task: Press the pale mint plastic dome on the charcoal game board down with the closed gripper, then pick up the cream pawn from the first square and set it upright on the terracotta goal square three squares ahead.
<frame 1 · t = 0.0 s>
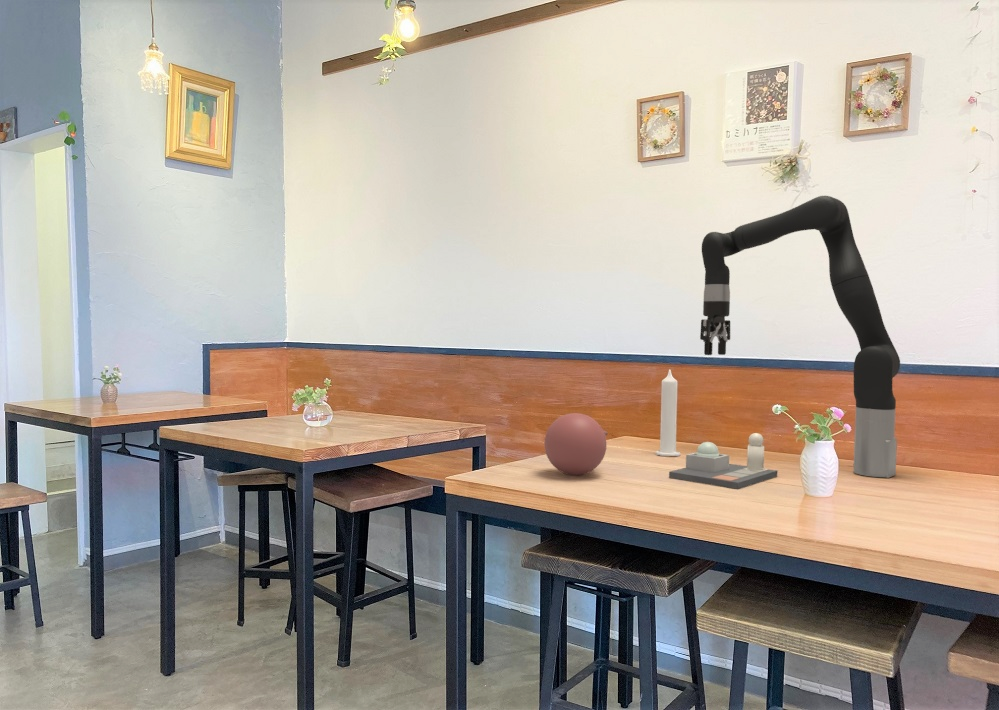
hand: (715, 354, 226), 29 cm above the table, fingers open, 8 cm apart
dome: (707, 452, 192), point 6 cm above the table, slide at 0.0 cm
pawn: (755, 469, 192), point 2 cm above the table, touching game board
mauve rubber ball: (581, 474, 191), on the table
game board: (723, 477, 189), on the table
candle: (667, 455, 221), on the table
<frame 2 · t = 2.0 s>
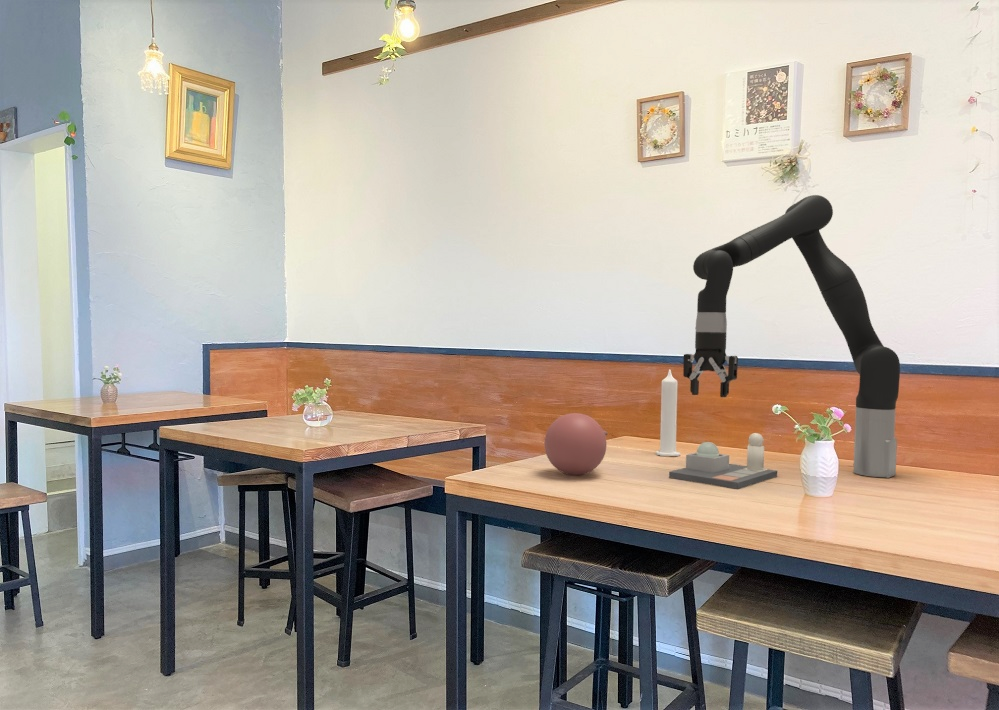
hand: (709, 395, 192), 20 cm above the table, fingers open, 7 cm apart
nothing on the table moved.
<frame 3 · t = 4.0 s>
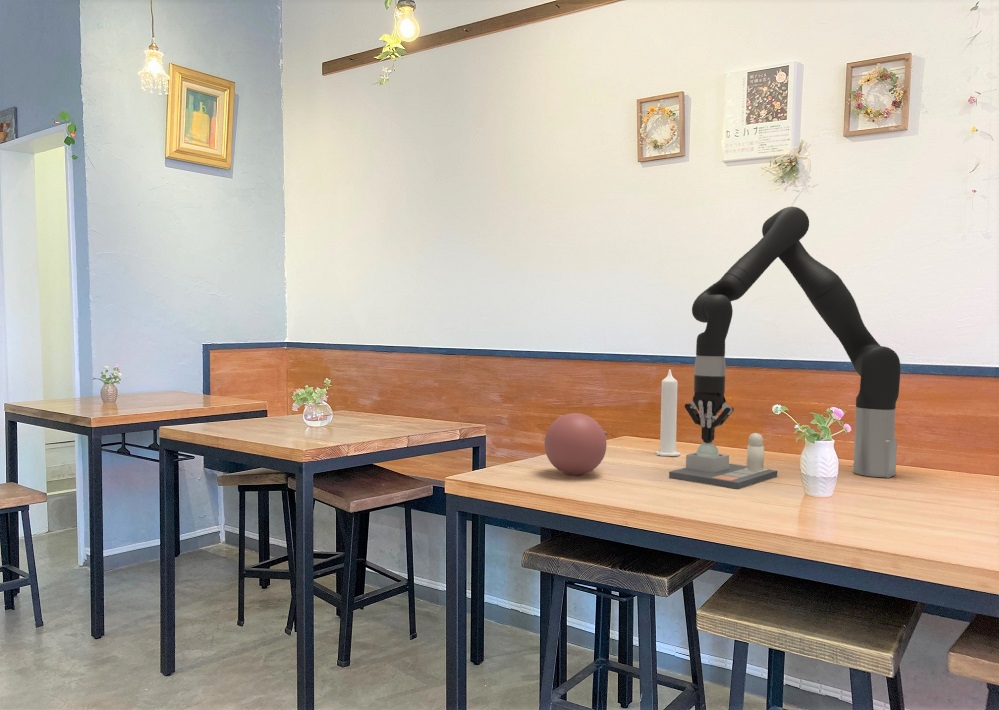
hand: (707, 442, 192), 8 cm above the table, fingers closed
dome: (707, 452, 192), point 6 cm above the table, slide at 0.1 cm, touching gripper
everything else where it was.
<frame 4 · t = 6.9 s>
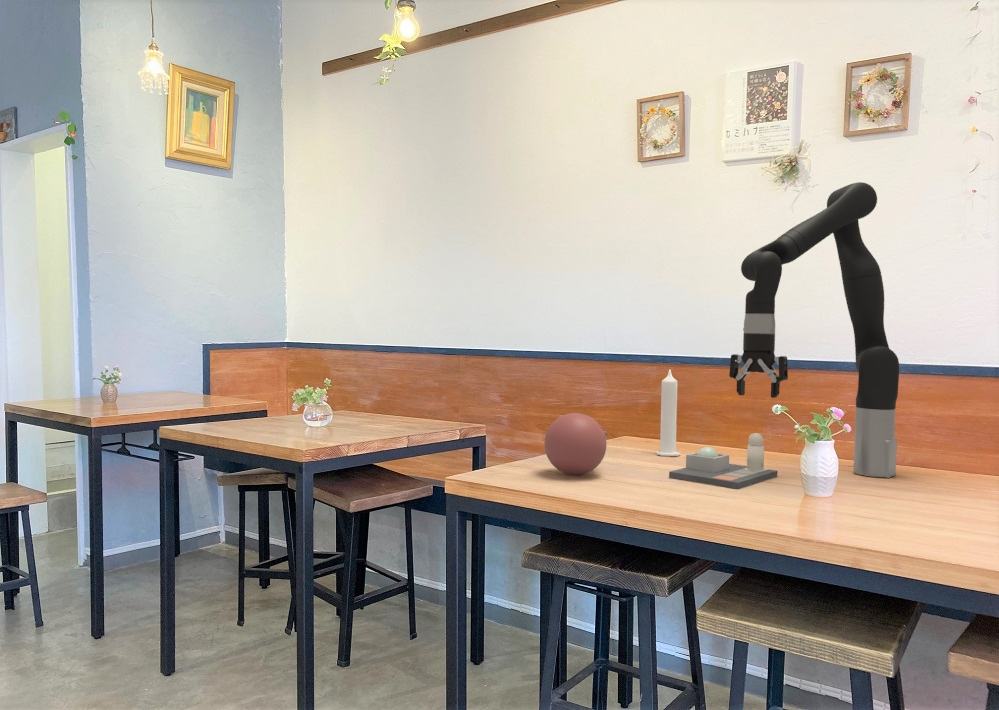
hand: (757, 396, 191), 20 cm above the table, fingers open, 8 cm apart
dome: (707, 457, 192), point 4 cm above the table, slide at 1.3 cm
everything else where it was.
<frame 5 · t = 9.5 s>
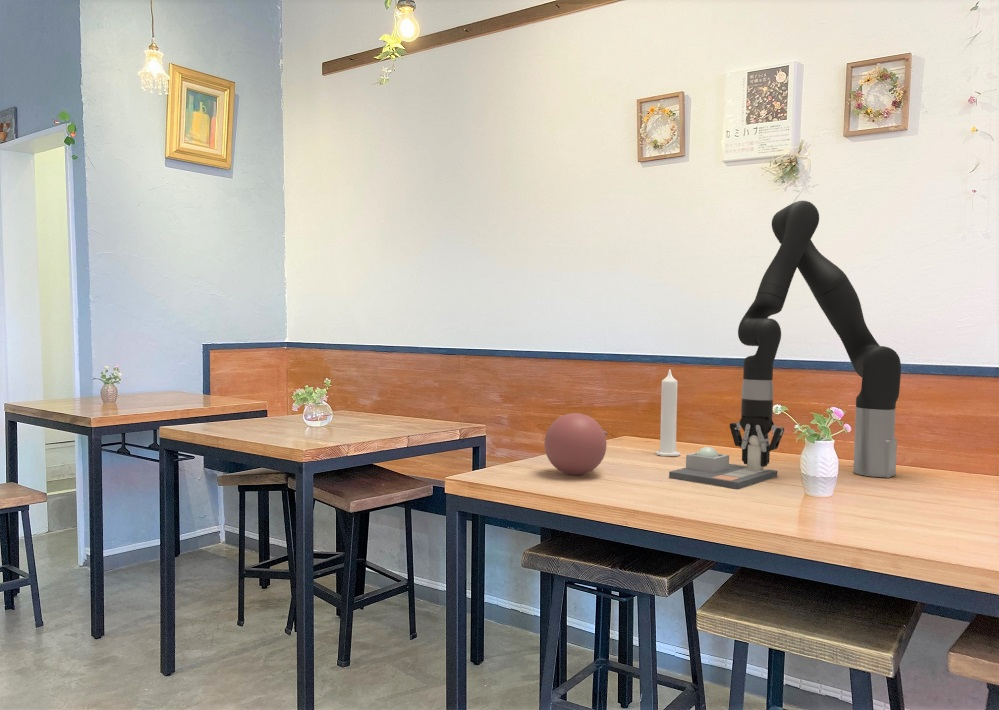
hand: (755, 464, 192), 3 cm above the table, fingers closed on pawn, 4 cm apart
pawn: (755, 469, 192), point 2 cm above the table, touching game board, gripper
everything else where it was.
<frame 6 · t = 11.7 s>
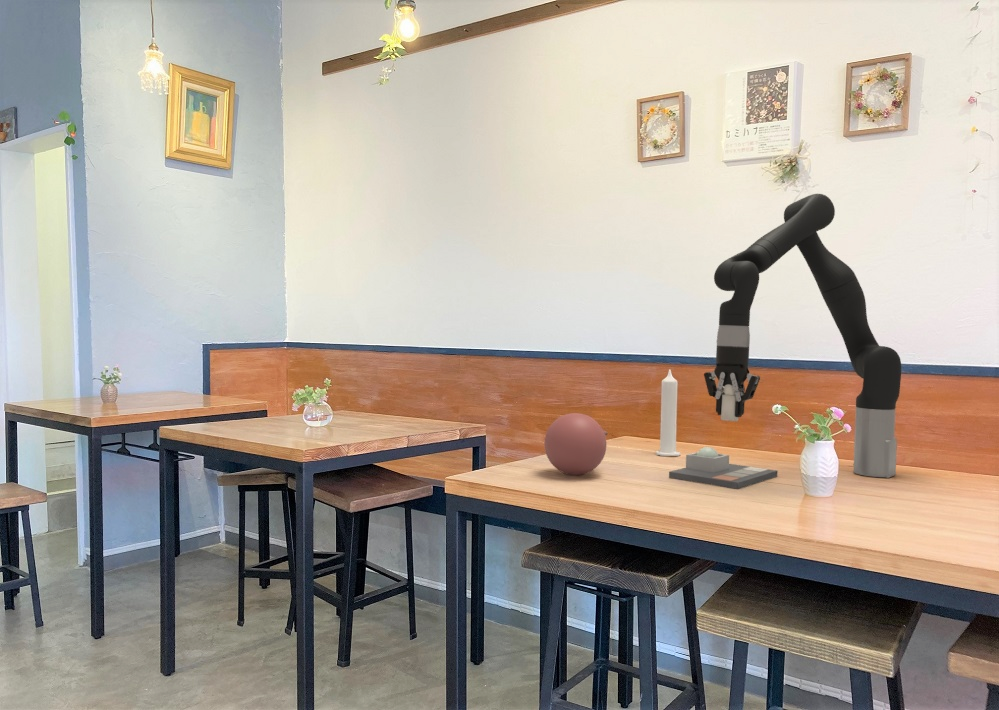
hand: (729, 415, 183), 16 cm above the table, fingers closed on pawn, 4 cm apart
pawn: (729, 420, 183), point 15 cm above the table, touching gripper
everything else where it was.
when the fingers open (4 cm above the table, at t = 14.4 s): pawn drops 1 cm, resting on game board.
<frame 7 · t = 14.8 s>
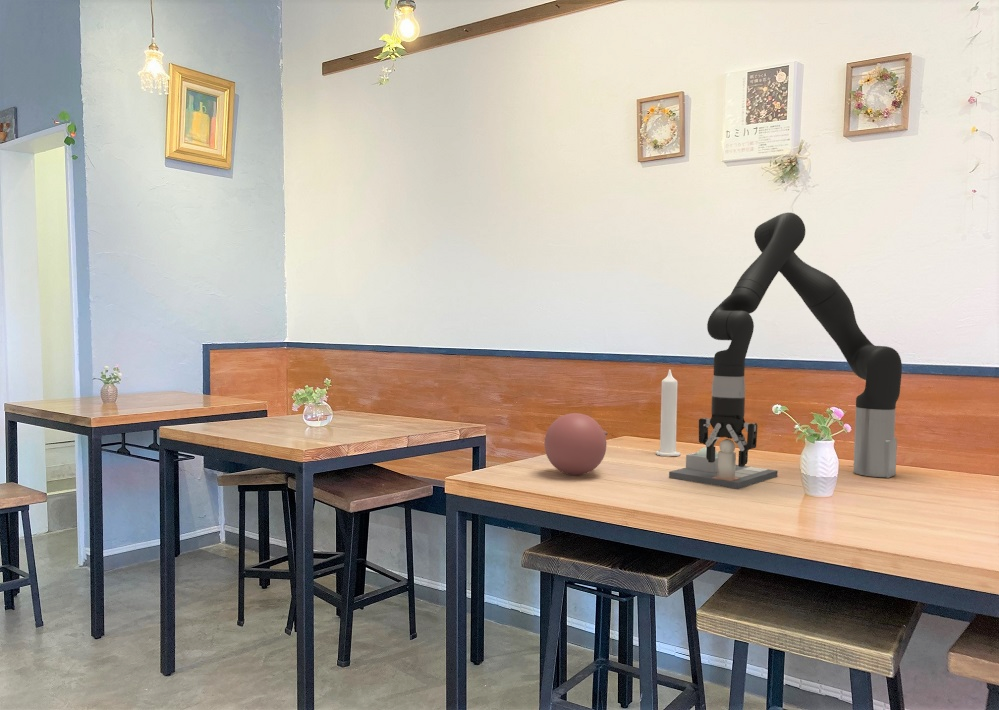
hand: (726, 464, 180), 5 cm above the table, fingers open, 7 cm apart
pawn: (726, 477, 180), point 2 cm above the table, touching game board
everything else where it was.
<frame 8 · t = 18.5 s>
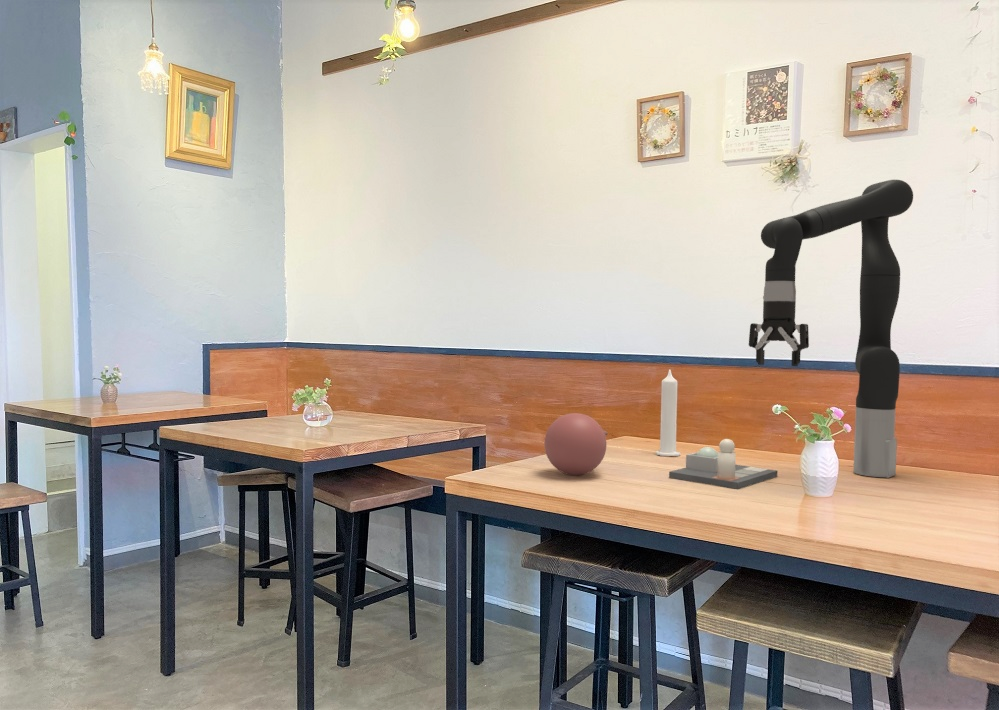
hand: (777, 365, 189), 28 cm above the table, fingers open, 8 cm apart
nothing on the table moved.
at the end: dome slide at 1.3 cm; pawn 0.0 cm from the target spot on the game board, point 1.6 cm above the game board's base; pawn tilted 1° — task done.
